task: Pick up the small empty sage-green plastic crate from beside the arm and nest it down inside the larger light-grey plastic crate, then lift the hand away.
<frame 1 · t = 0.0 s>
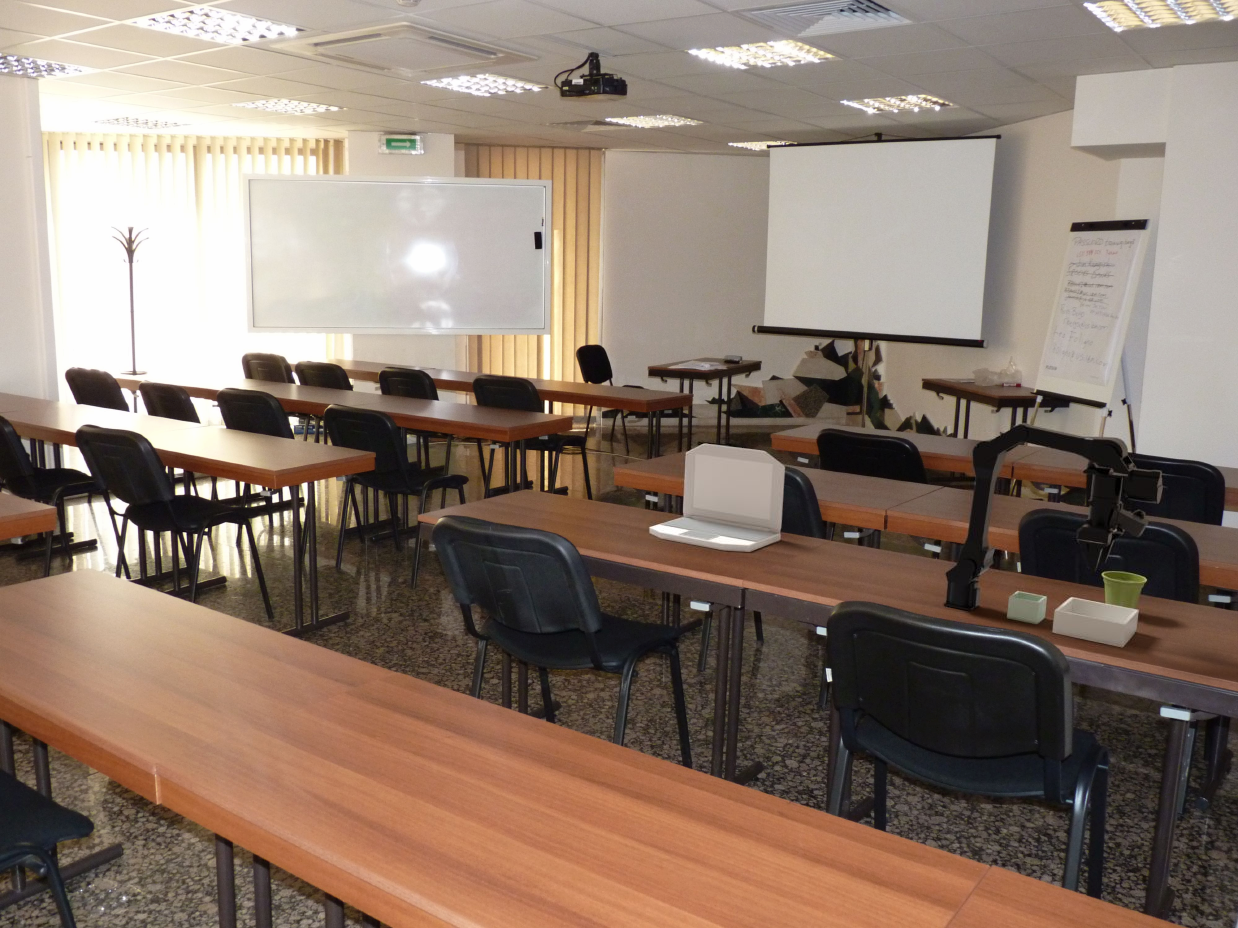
hand: (1097, 567, 216), 15 cm above the table, tool pointing down, fingers open, 9 cm apart
small crate: (1025, 617, 227), on the table
big crate: (1094, 632, 219), on the table
plant pot: (1119, 613, 235), on the table
laptop: (711, 539, 296), on the table
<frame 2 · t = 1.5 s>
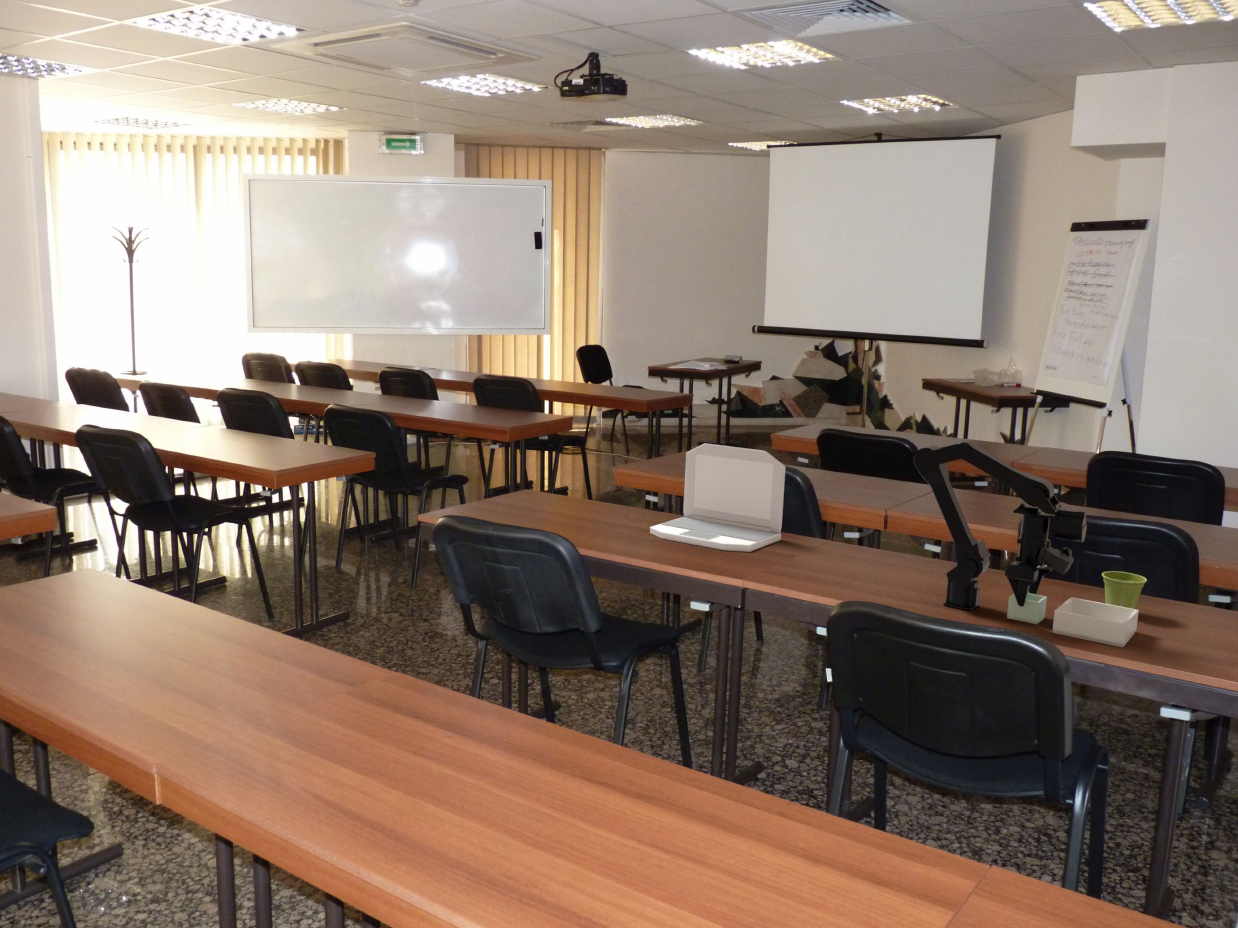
hand: (1027, 601, 227), 4 cm above the table, tool pointing down, fingers open, 9 cm apart
nothing on the table moved.
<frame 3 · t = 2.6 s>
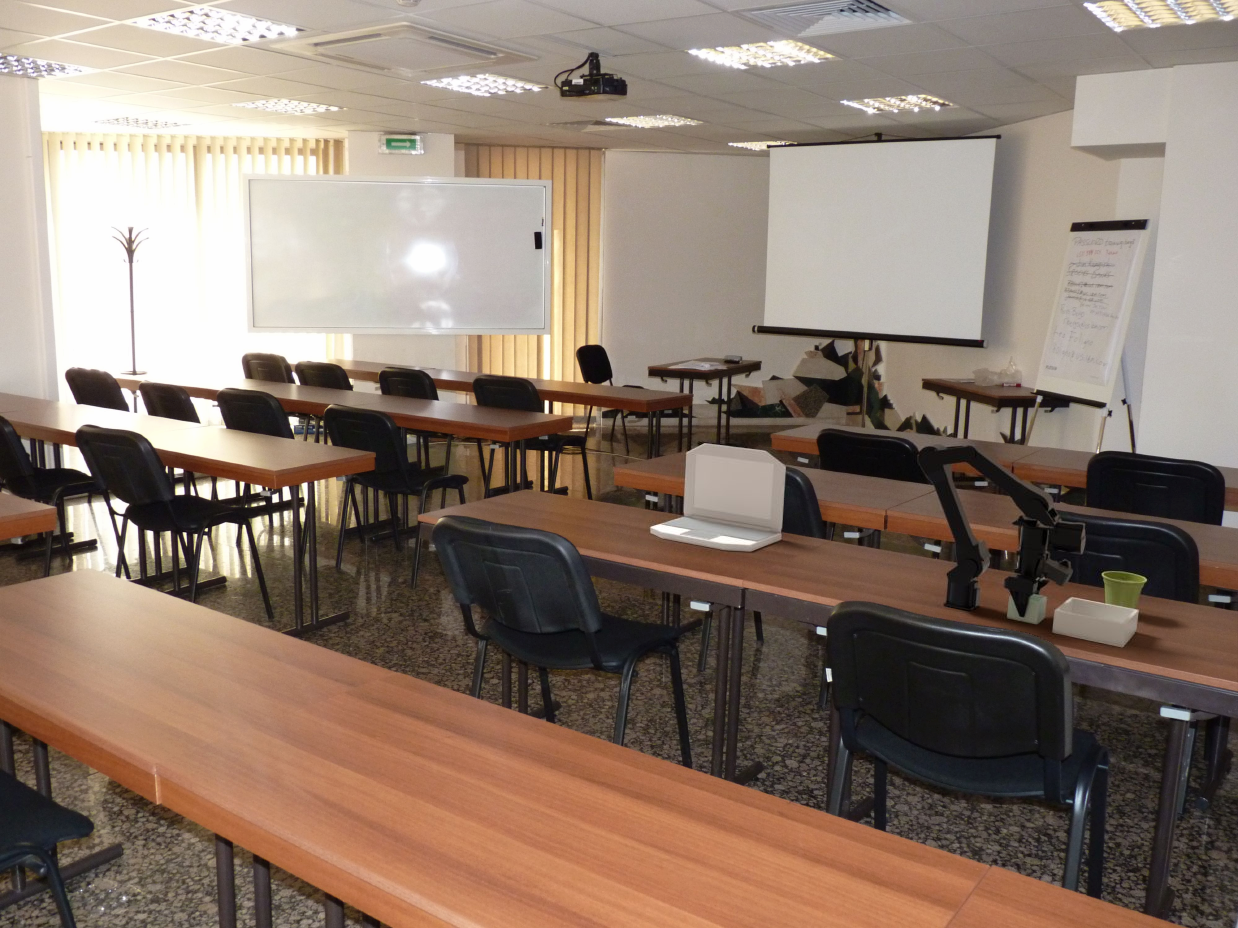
hand: (1026, 613, 227), 1 cm above the table, tool pointing down, fingers closed on small crate, 6 cm apart
small crate: (1025, 617, 227), on the table, touching gripper
everything else where it was.
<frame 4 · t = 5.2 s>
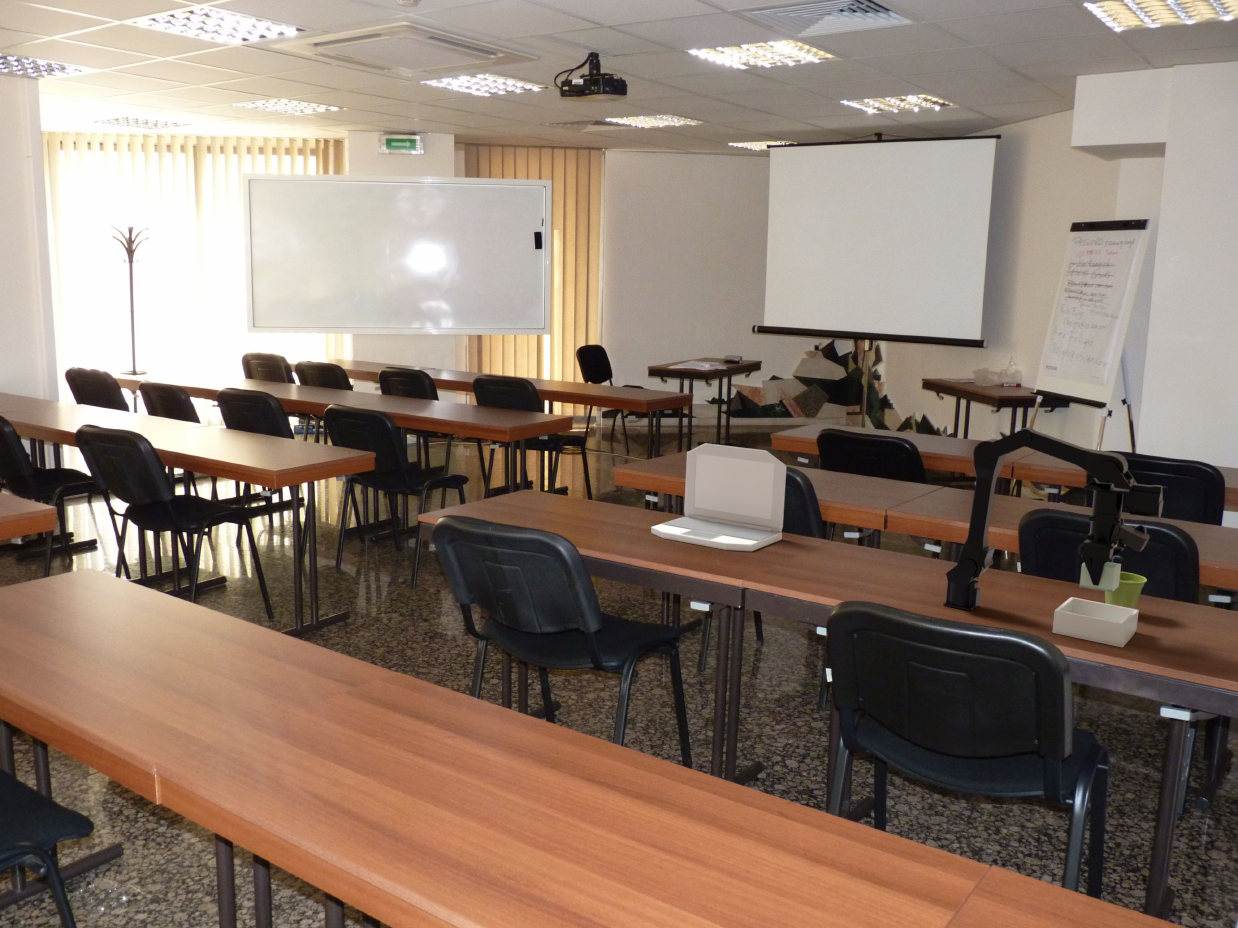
hand: (1099, 582, 217), 11 cm above the table, tool pointing down, fingers closed on small crate, 6 cm apart
small crate: (1099, 586, 217), point 10 cm above the table, touching gripper
everything else where it was.
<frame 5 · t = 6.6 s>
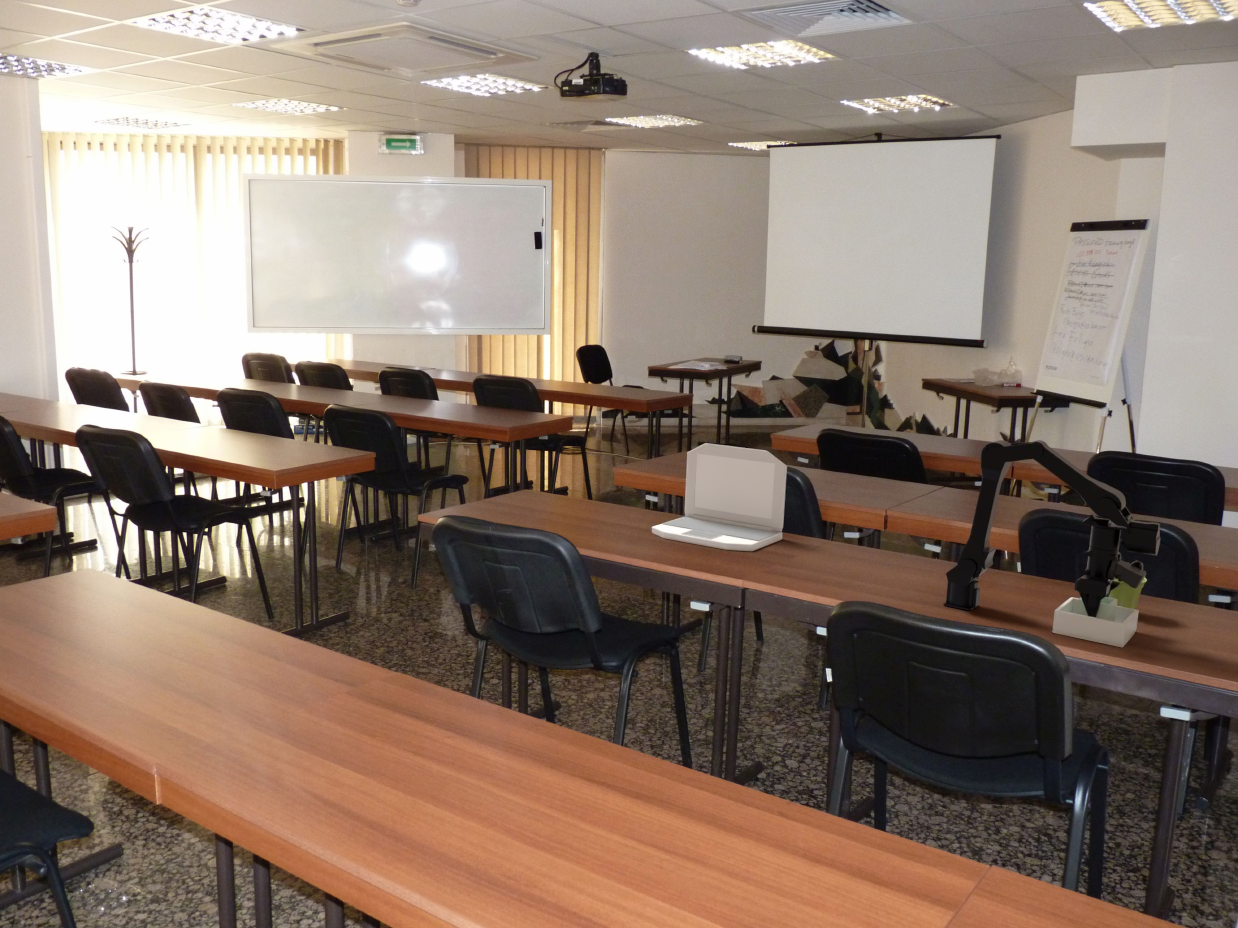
hand: (1095, 616, 218), 3 cm above the table, tool pointing down, fingers closed on small crate, 6 cm apart
small crate: (1095, 621, 218), point 2 cm above the table, touching gripper
when the fingers open (3 cm above the table, at t = 7.6 s): small crate drops 1 cm, resting on big crate.
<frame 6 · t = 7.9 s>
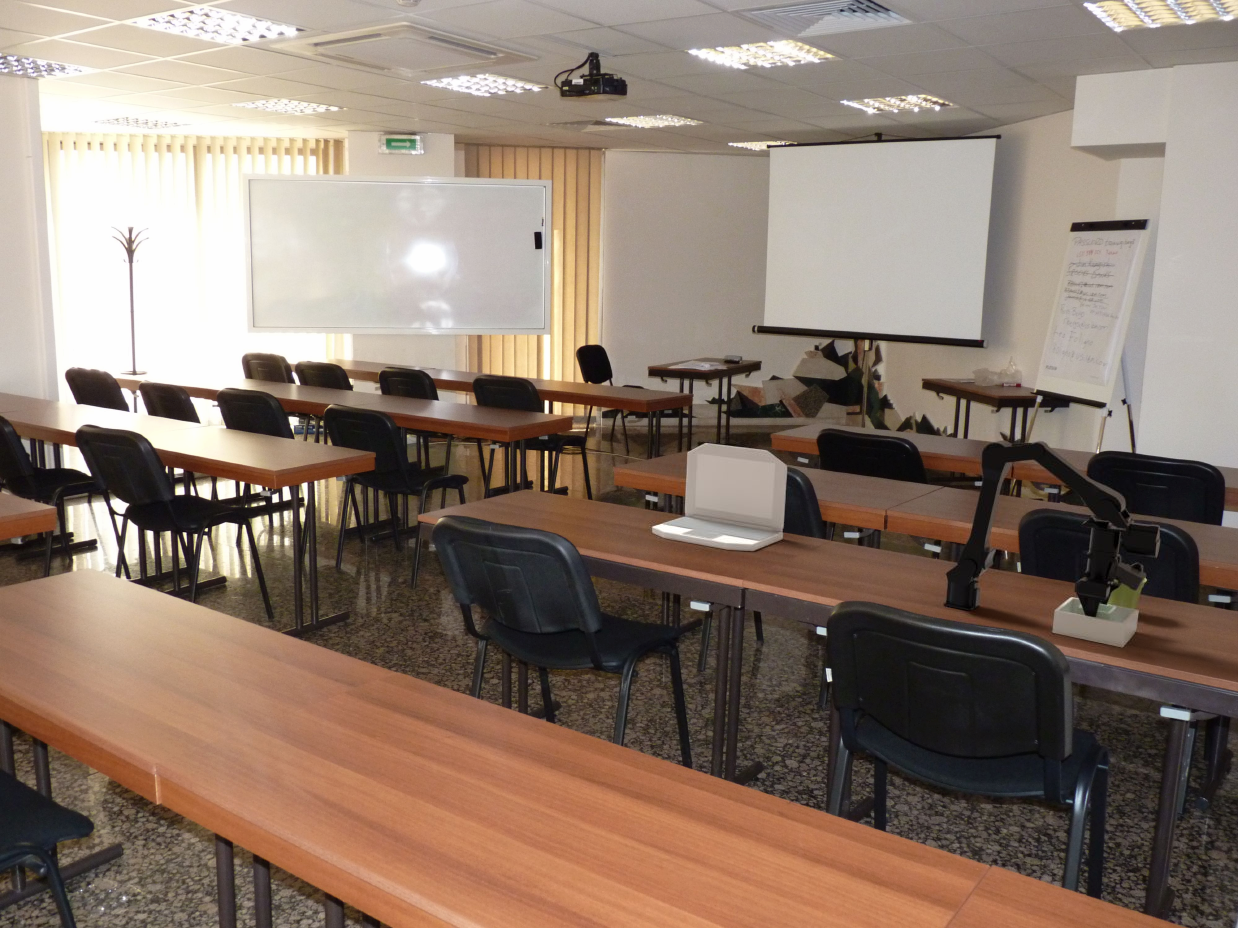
hand: (1095, 618, 218), 3 cm above the table, tool pointing down, fingers open, 9 cm apart
small crate: (1094, 628, 218), point 1 cm above the table, touching big crate
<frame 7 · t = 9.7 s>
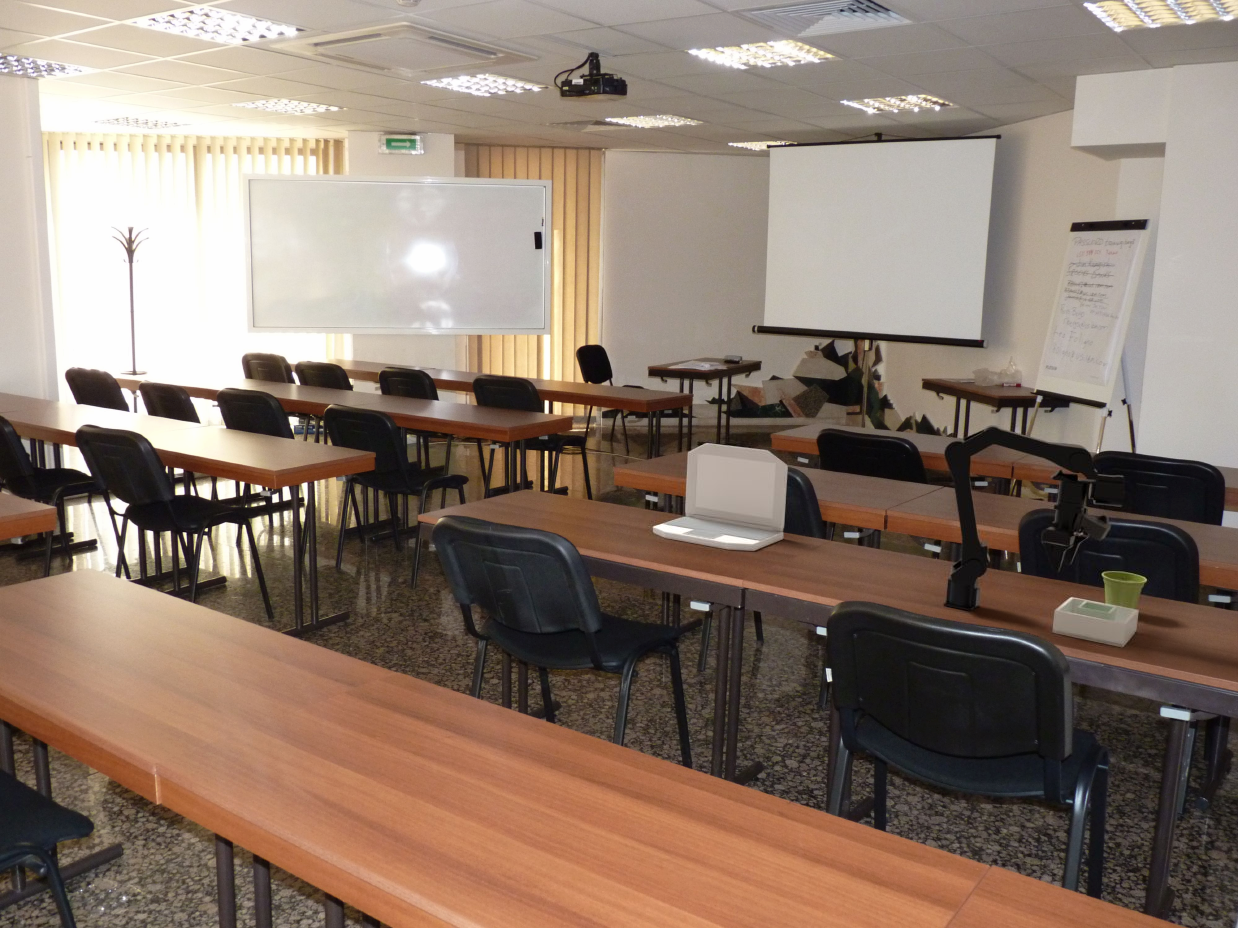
hand: (1062, 568, 227), 12 cm above the table, tool pointing down, fingers open, 9 cm apart
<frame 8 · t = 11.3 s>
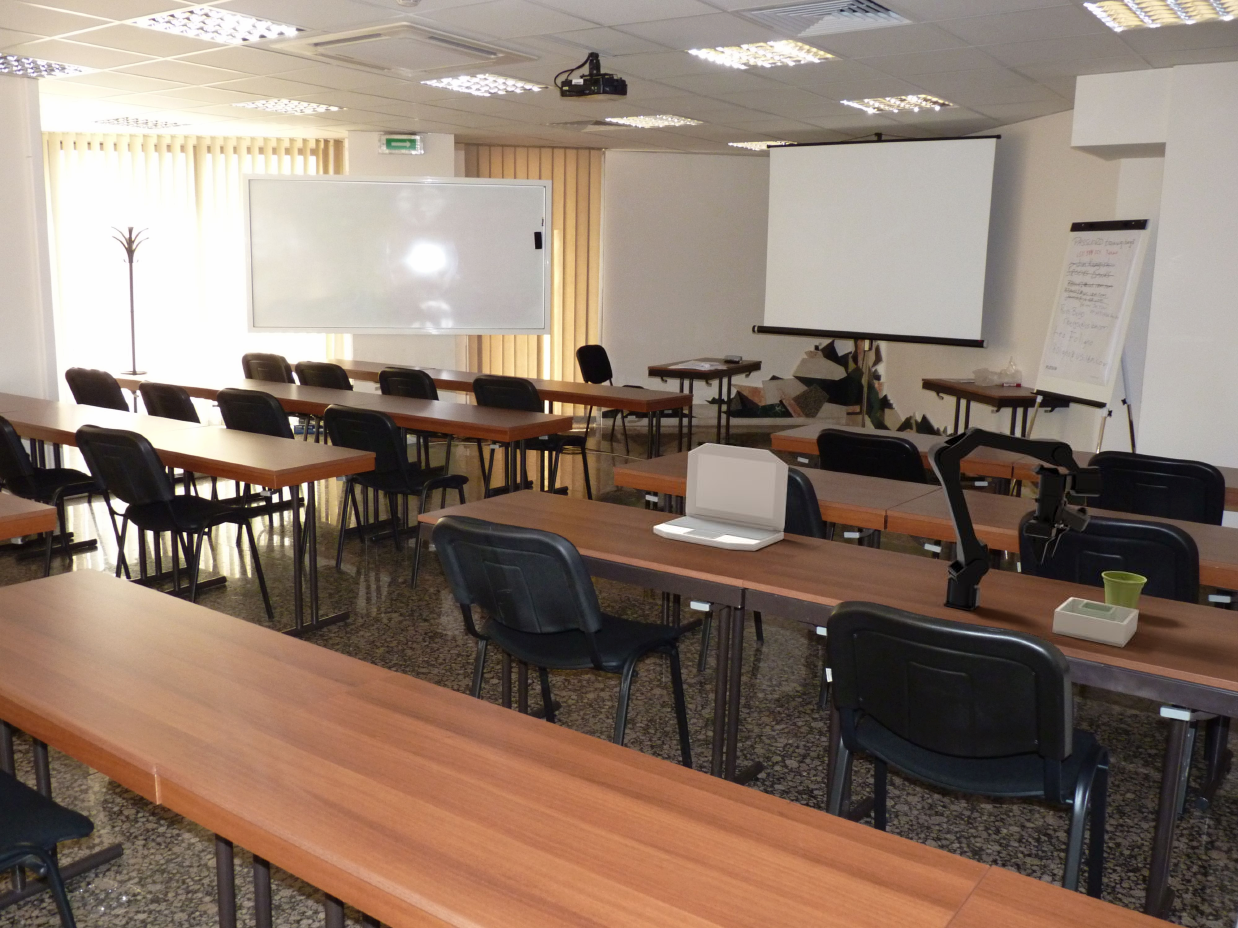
hand: (1044, 560, 232), 12 cm above the table, tool pointing down, fingers open, 9 cm apart
at the end: small crate inside the target area on the big crate (0.0 cm from its centre), point 0.7 cm above the big crate's base; small crate tilted 0°; the gripper is holding nothing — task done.
